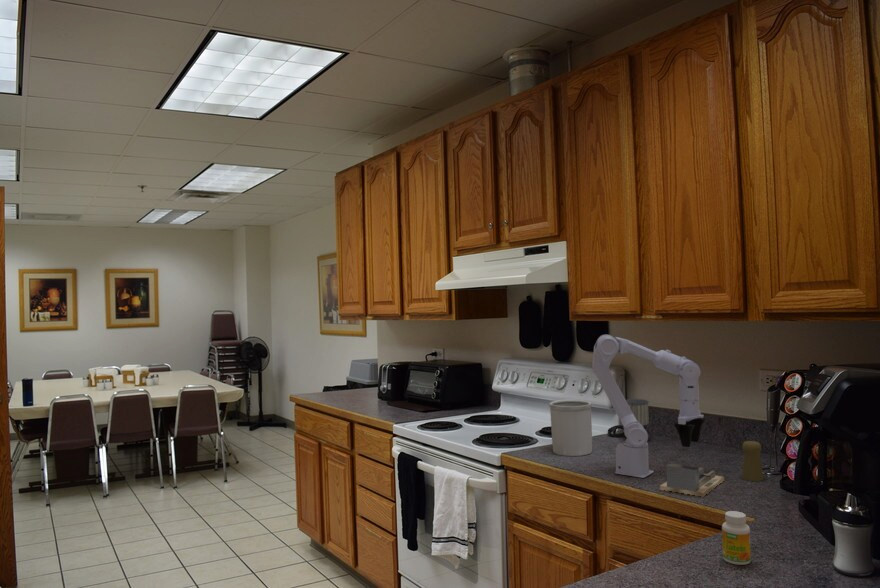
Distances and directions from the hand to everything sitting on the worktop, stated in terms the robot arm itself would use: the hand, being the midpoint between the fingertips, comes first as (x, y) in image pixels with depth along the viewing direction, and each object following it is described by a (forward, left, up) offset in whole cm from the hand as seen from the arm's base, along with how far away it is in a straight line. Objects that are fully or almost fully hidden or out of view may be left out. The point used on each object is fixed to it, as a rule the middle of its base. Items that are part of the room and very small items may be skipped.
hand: (690, 444), depth 201 cm
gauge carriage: (+5, -11, -8) cm, 14 cm away
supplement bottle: (+29, -58, -10) cm, 66 cm away
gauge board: (+4, -11, -9) cm, 15 cm away
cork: (+16, +6, -10) cm, 20 cm away
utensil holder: (-44, +6, -10) cm, 45 cm away
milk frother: (-36, +37, -10) cm, 53 cm away
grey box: (+4, -18, -8) cm, 21 cm away
